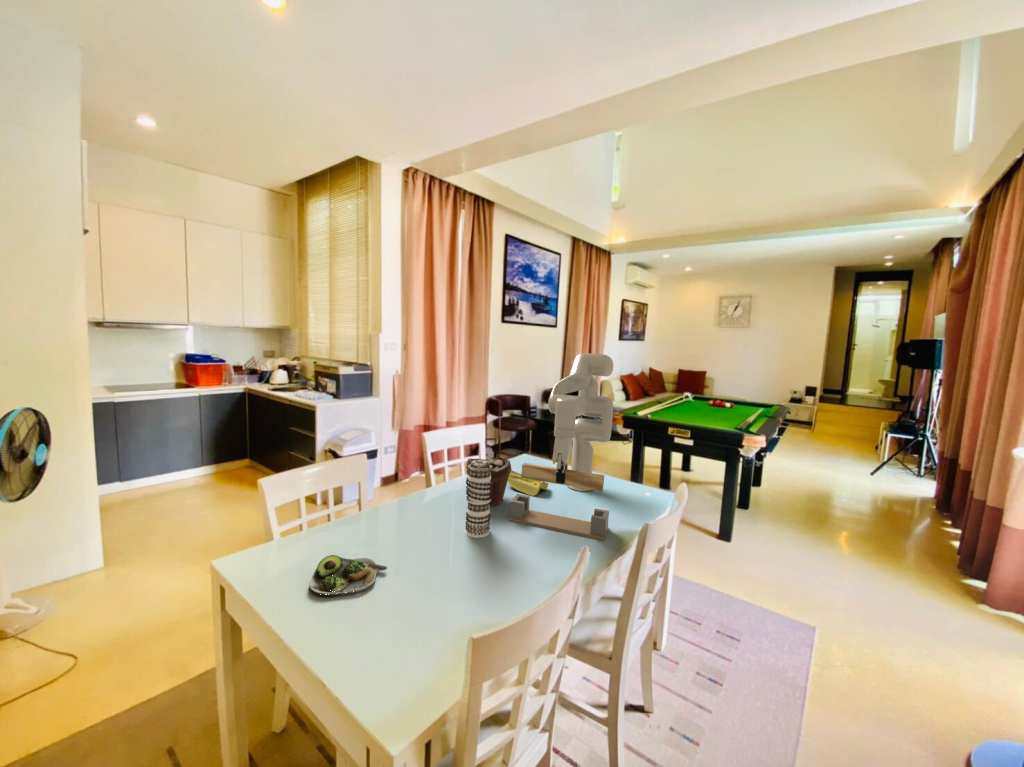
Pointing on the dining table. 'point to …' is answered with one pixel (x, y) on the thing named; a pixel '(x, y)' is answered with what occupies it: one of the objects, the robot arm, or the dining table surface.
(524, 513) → the end cap frame
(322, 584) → the salad plate
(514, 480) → the plastic component
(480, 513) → the tower model
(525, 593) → the dining table surface
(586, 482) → the slat
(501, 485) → the brown pot
